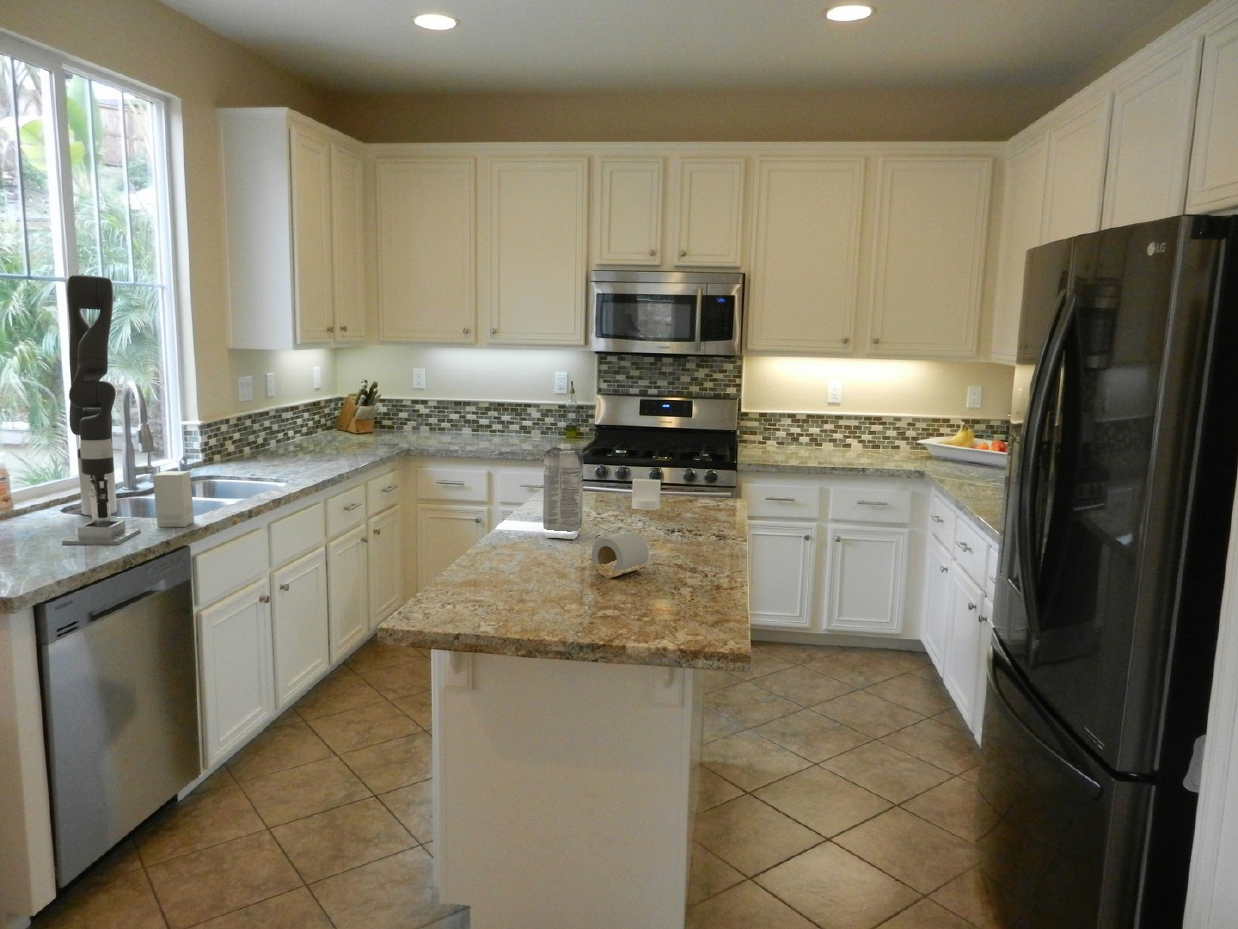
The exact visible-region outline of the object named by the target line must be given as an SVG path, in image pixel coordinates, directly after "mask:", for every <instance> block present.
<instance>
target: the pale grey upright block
mask: <svg viewBox="0 0 1238 929" xmlns="http://www.w3.org/2000/svg"><path fill="white" fill-rule="evenodd" d="M109 494H110V490H108V499H109ZM89 496H90V499H91V512H92V515H91V521H92V524H93V527H109V526H111V521H112V518H111V517H112V516H111V515H112V513H111V514H110V501H108V504H107V513H108V517H107V518H99V517H98V510H97V503H96V498H95V497H94V496H93V491H89ZM99 498H100V499H103V498H104V497H99Z"/></svg>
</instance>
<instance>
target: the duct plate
mask: <svg viewBox="0 0 1238 929" xmlns="http://www.w3.org/2000/svg"><path fill="white" fill-rule="evenodd" d="M139 534H141V528H126V520H111V526H109V527H93V524H92V520H90V521H88V522H86V523H84V524H82V525H80V526H78V527H77V533H75V534H73V535H72V536H69V537H67V538H66V539H63V540H62V541H61V544H62V546H63V545H65V546H69V545H71V546H75V545H77V546H78V545H79V546H81V545H83V546H85V545H86V546H88V545H89V546H90V545H91V546H93V545H94V546H95V545H97V546H98V545H101V546H105V545H107V546H109V545H110V546H113V545H114V546H115V545H120V544H122V543H124V542H126V541H127V540H129V539H132V538H133V537H135V536H137V535H139Z"/></svg>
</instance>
